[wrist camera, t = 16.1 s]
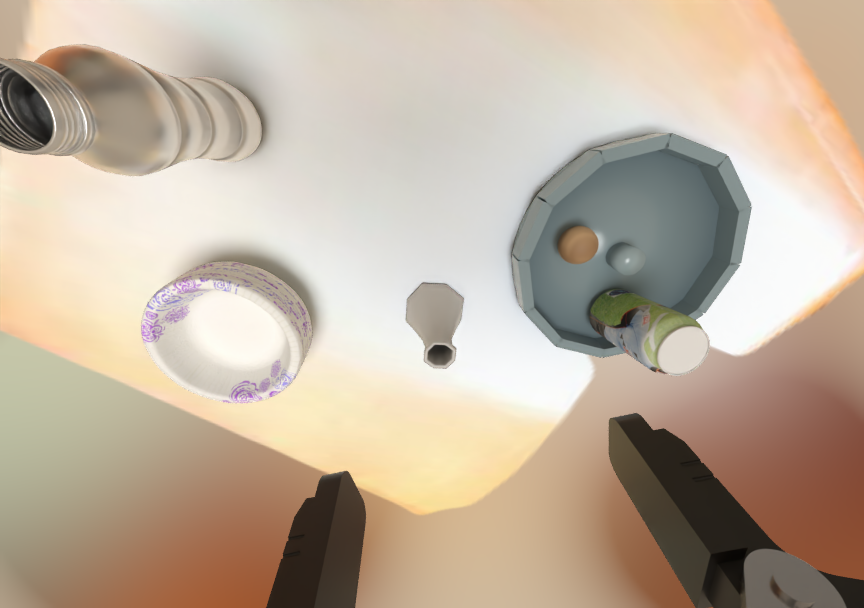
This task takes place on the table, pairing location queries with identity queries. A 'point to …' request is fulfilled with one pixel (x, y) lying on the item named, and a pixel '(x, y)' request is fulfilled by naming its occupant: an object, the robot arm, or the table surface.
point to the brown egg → (578, 244)
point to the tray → (631, 234)
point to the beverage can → (650, 332)
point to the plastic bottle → (120, 112)
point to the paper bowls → (228, 332)
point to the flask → (435, 321)
